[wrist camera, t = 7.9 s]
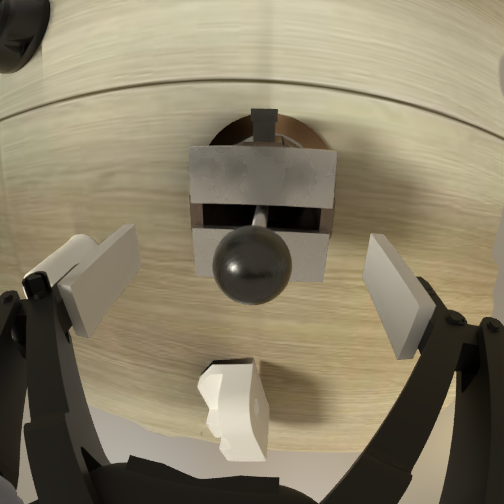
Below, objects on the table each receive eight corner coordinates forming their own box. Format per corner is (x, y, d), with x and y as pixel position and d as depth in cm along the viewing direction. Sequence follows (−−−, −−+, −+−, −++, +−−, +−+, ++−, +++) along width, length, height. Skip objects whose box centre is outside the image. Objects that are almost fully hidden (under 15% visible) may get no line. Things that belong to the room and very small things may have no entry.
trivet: (199, 114, 31) (198, 114, 30) (338, 118, 30) (339, 118, 29) (203, 239, 38) (202, 241, 37) (327, 245, 37) (328, 247, 36)
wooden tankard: (217, 113, 30) (179, 109, 18) (320, 116, 29) (347, 113, 17) (218, 226, 36) (189, 281, 24) (312, 230, 35) (328, 288, 23)
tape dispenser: (269, 408, 53) (266, 461, 42) (220, 410, 55) (210, 459, 43) (253, 357, 46) (246, 419, 35) (195, 360, 48) (177, 417, 37)
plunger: (234, 151, 30) (162, 206, 12) (300, 153, 30) (340, 212, 11) (234, 213, 34) (180, 338, 15) (297, 216, 33) (317, 347, 14)
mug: (125, 243, 39) (80, 286, 28) (127, 291, 43) (91, 340, 32) (64, 229, 39) (15, 264, 28) (70, 275, 43) (29, 315, 32)
